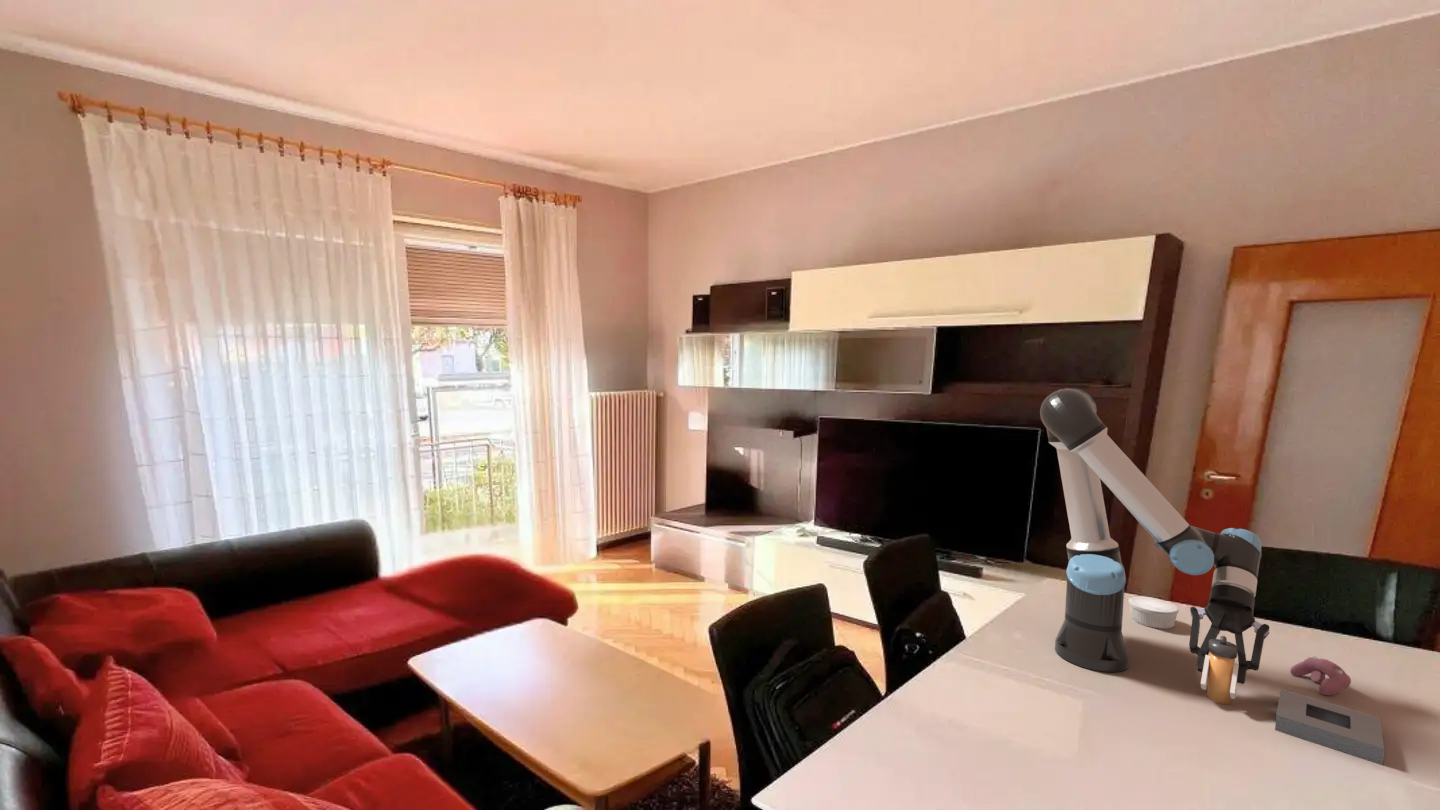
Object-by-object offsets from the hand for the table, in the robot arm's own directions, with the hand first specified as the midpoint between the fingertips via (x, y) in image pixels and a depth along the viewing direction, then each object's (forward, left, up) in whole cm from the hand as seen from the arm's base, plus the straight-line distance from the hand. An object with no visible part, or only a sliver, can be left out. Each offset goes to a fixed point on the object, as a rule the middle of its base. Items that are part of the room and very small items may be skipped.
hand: (1217, 690), depth 124 cm
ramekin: (-18, +41, -4) cm, 45 cm away
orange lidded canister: (0, +4, -3) cm, 5 cm away
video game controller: (+15, +28, -4) cm, 32 cm away
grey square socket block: (+16, +5, -3) cm, 17 cm away
